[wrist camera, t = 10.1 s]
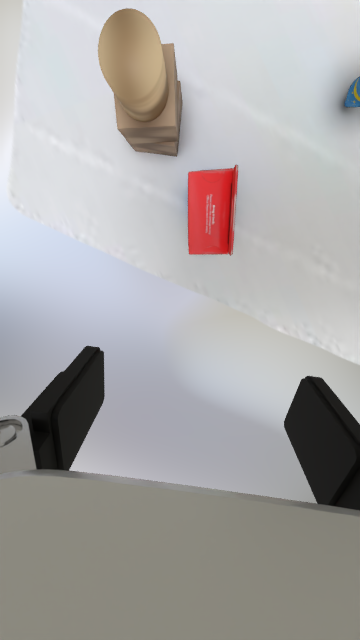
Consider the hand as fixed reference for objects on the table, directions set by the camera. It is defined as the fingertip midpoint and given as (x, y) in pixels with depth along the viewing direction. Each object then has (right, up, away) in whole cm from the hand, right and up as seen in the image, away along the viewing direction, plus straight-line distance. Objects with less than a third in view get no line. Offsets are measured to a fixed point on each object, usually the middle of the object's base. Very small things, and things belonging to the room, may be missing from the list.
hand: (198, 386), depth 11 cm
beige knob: (-4, +26, +11) cm, 28 cm away
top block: (-4, +28, +16) cm, 32 cm away
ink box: (+3, +19, +25) cm, 32 cm away
